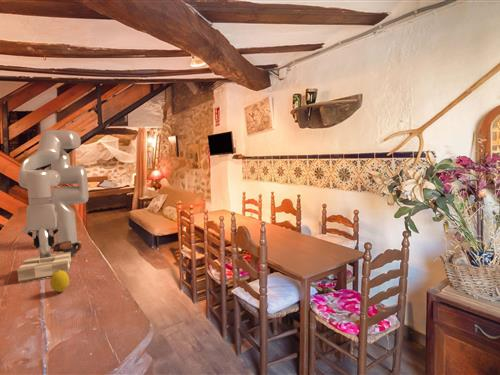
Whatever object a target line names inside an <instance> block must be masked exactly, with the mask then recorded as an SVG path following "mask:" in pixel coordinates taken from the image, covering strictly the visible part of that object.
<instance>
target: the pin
mask: <svg viewBox="0 0 500 375" xmlns="http://www.w3.org/2000/svg"><path fill="white" fill-rule="evenodd" d="M37 236H38V246H39V248H38V255H39V256H40V258H46V257H50V256H51V255H52V246H50V242H49V237H50V233H49V230H47V229H44V228H41V229H40V230H38V231H37Z"/></svg>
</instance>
